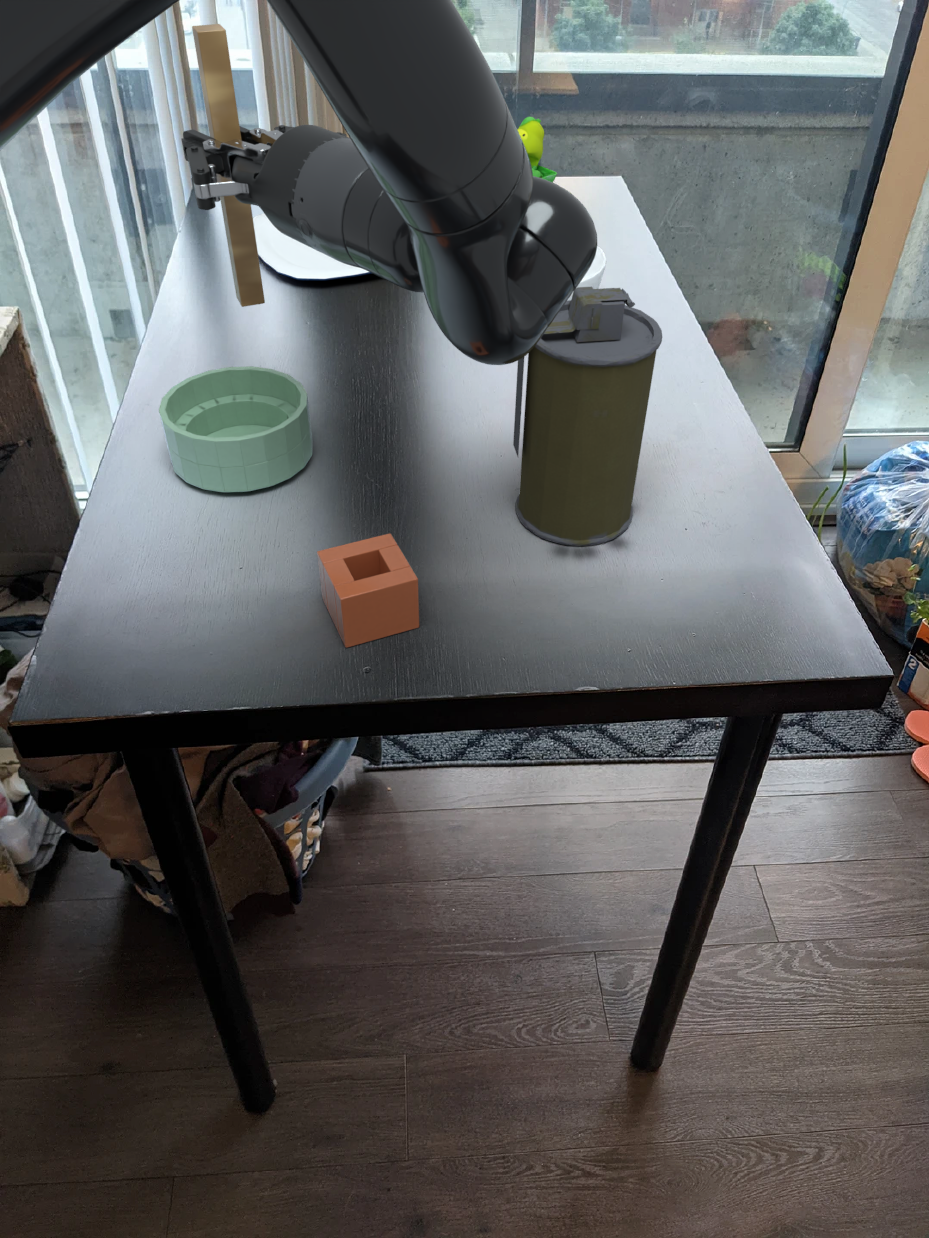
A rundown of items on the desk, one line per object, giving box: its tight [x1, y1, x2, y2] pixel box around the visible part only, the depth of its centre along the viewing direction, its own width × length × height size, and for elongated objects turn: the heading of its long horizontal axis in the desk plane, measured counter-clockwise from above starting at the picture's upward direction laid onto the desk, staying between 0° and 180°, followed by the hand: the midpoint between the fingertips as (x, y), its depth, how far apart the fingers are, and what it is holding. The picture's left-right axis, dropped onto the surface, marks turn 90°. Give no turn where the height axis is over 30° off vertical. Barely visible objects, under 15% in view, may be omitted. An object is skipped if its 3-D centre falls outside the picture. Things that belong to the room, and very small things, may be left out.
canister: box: [512, 287, 663, 547], centre depth 78 cm, size 11×10×20 cm
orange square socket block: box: [316, 532, 420, 649], centre depth 73 cm, size 6×6×5 cm
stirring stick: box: [191, 23, 266, 308], centre depth 74 cm, size 2×2×20 cm
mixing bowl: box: [158, 365, 314, 493], centre depth 88 cm, size 13×13×6 cm
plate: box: [253, 212, 374, 282], centre depth 128 cm, size 25×25×2 cm
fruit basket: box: [517, 116, 558, 183], centre depth 137 cm, size 11×9×11 cm
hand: (206, 140), depth 74 cm, fingers closed on stirring stick, 2 cm apart
